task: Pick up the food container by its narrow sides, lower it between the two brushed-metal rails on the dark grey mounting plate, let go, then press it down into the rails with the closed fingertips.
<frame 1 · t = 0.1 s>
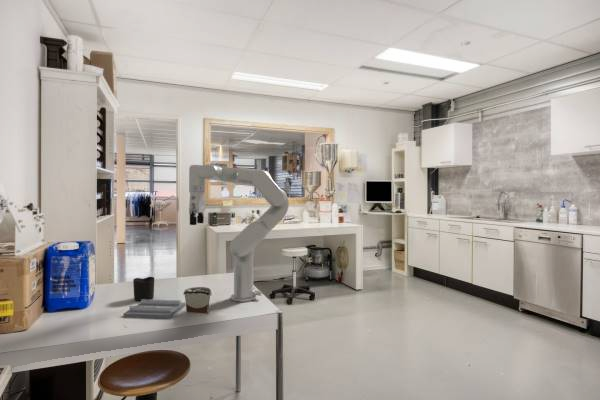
hand: (196, 224, 171), 37 cm above the table, tool pointing down, fingers open, 9 cm apart
food container: (199, 311, 152), on the table
pen holder: (143, 299, 168), on the table
rail plate: (155, 311, 151), on the table
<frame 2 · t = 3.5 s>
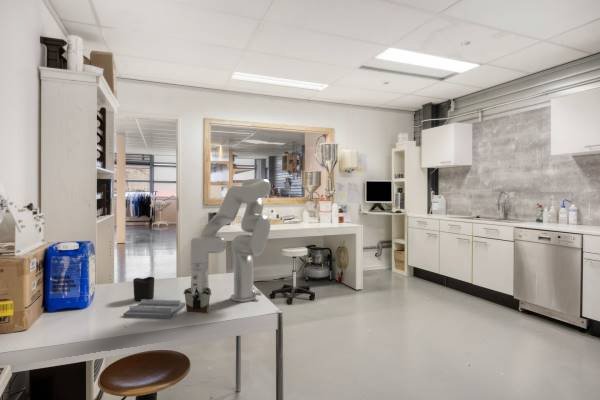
hand: (199, 306, 151), 2 cm above the table, tool pointing down, fingers closed on food container, 5 cm apart
food container: (199, 311, 152), on the table, touching gripper
everything else where it was.
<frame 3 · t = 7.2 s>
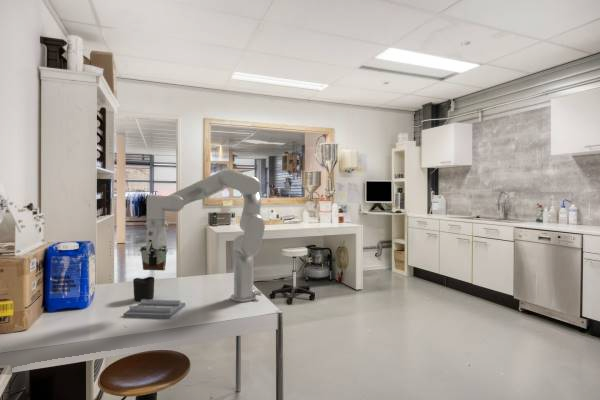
hand: (156, 264, 151), 21 cm above the table, tool pointing down, fingers closed on food container, 5 cm apart
food container: (157, 269, 151), point 18 cm above the table, touching gripper
everything else where it was.
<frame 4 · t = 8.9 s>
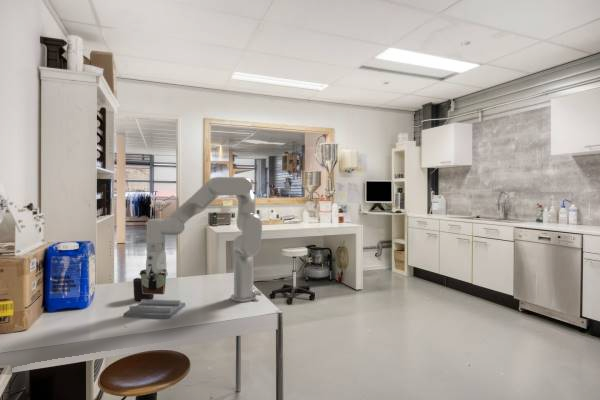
hand: (155, 287, 151), 10 cm above the table, tool pointing down, fingers closed on food container, 5 cm apart
food container: (156, 292, 151), point 8 cm above the table, touching gripper
everything else where it was.
when the fingers open (4 cm above the table, at t = 10.6 s): food container stays where it is, resting on rail plate.
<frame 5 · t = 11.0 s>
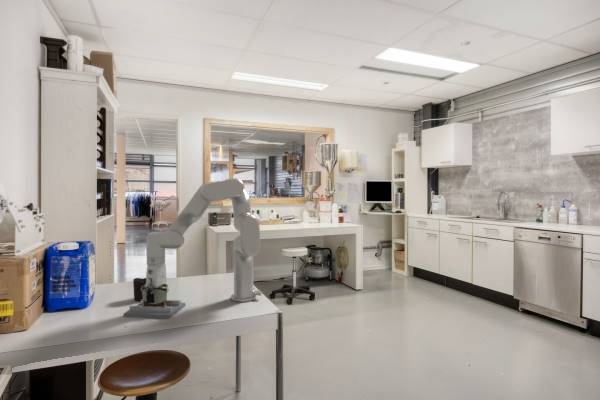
hand: (155, 299, 151), 5 cm above the table, tool pointing down, fingers open, 9 cm apart
food container: (157, 307, 152), point 1 cm above the table, touching rail plate
everything else where it was.
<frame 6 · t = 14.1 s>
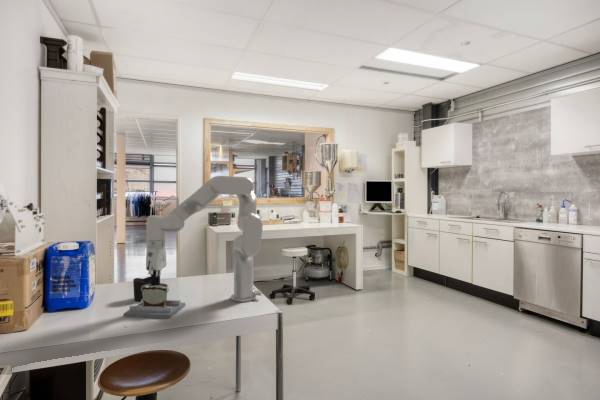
hand: (155, 285, 151), 12 cm above the table, tool pointing down, fingers closed
food container: (157, 307, 152), point 1 cm above the table, touching gripper, rail plate
everything else where it was.
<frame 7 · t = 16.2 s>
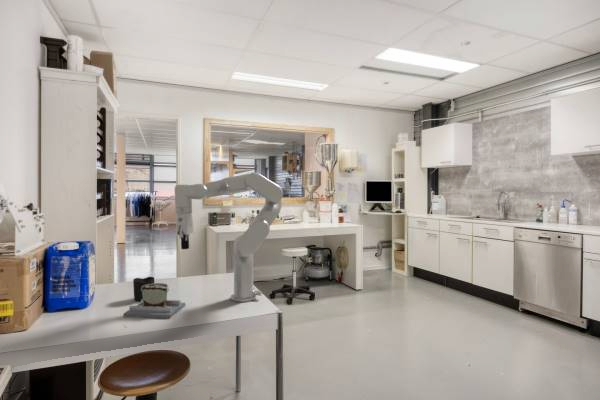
hand: (185, 248, 164), 25 cm above the table, tool pointing down, fingers closed
food container: (157, 307, 152), point 1 cm above the table, touching rail plate
everything else where it was.
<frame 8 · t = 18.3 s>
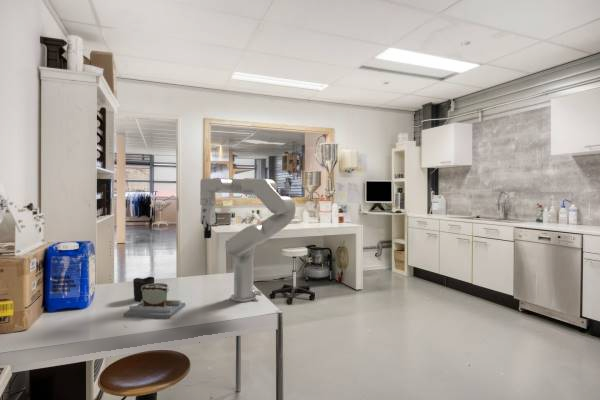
hand: (207, 237, 176), 29 cm above the table, tool pointing down, fingers closed
nothing on the table moved.
at the end: food container 0.9 cm off-centre on the rail plate, point 1.3 cm above the rail plate's base; food container tilted 0°; the gripper is holding nothing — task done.
